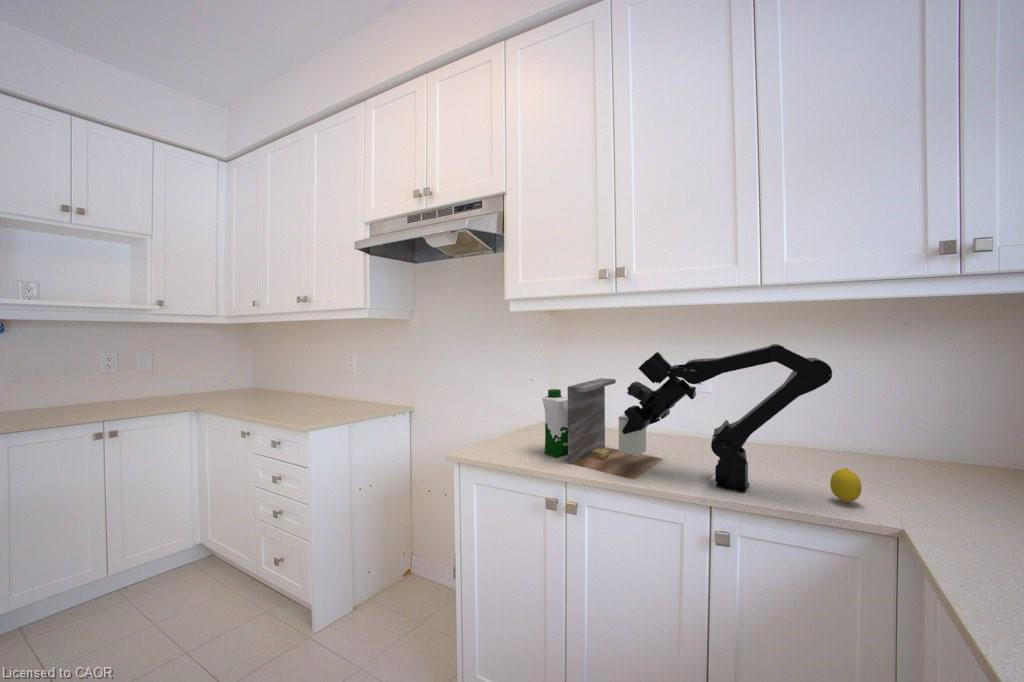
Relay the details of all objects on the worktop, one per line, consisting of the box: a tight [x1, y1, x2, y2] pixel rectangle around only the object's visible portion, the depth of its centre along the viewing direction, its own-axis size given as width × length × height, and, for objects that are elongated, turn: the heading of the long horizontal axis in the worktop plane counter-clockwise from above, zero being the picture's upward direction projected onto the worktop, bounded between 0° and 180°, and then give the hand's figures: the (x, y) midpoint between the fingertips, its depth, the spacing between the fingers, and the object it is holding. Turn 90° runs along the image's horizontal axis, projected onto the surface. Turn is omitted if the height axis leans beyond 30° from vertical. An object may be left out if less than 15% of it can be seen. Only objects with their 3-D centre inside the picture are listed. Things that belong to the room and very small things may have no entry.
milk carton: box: [542, 388, 568, 459], centre depth 132 cm, size 9×9×20 cm
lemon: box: [829, 467, 862, 504], centre depth 95 cm, size 6×6×8 cm
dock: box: [567, 377, 663, 480], centre depth 122 cm, size 20×20×23 cm
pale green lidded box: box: [618, 414, 647, 456], centre depth 119 cm, size 6×6×10 cm
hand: (627, 430), depth 120 cm, fingers closed on pale green lidded box, 6 cm apart
